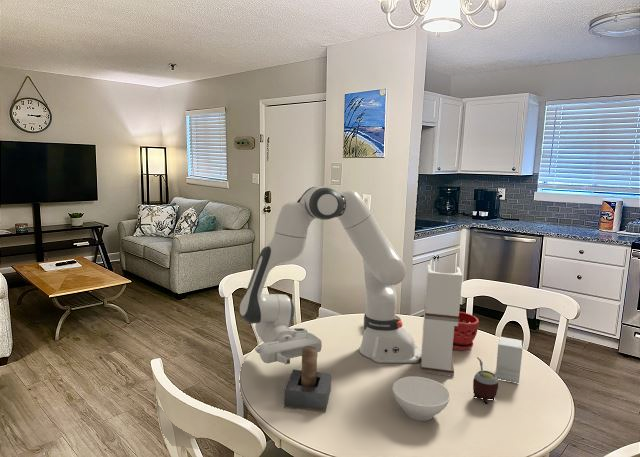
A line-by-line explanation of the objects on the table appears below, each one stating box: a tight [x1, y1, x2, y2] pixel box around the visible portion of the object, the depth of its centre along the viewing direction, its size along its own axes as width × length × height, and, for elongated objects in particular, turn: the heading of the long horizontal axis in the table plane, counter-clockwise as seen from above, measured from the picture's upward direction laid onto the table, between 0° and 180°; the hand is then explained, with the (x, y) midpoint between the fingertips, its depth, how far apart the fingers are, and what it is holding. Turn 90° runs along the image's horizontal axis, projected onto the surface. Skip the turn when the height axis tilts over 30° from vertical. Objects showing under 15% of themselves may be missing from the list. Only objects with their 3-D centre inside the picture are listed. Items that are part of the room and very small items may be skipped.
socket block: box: [283, 369, 332, 413], centre depth 128 cm, size 12×12×6 cm
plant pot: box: [452, 311, 480, 351], centre depth 169 cm, size 13×13×12 cm
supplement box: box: [495, 336, 523, 384], centre depth 144 cm, size 7×7×13 cm
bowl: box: [391, 376, 451, 422], centre depth 123 cm, size 16×16×7 cm
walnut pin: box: [301, 346, 318, 387], centre depth 128 cm, size 4×4×15 cm
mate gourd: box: [472, 356, 499, 405], centre depth 130 cm, size 8×8×15 cm
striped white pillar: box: [420, 264, 463, 377], centre depth 149 cm, size 11×11×35 cm
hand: (301, 358), depth 131 cm, fingers open, 8 cm apart
